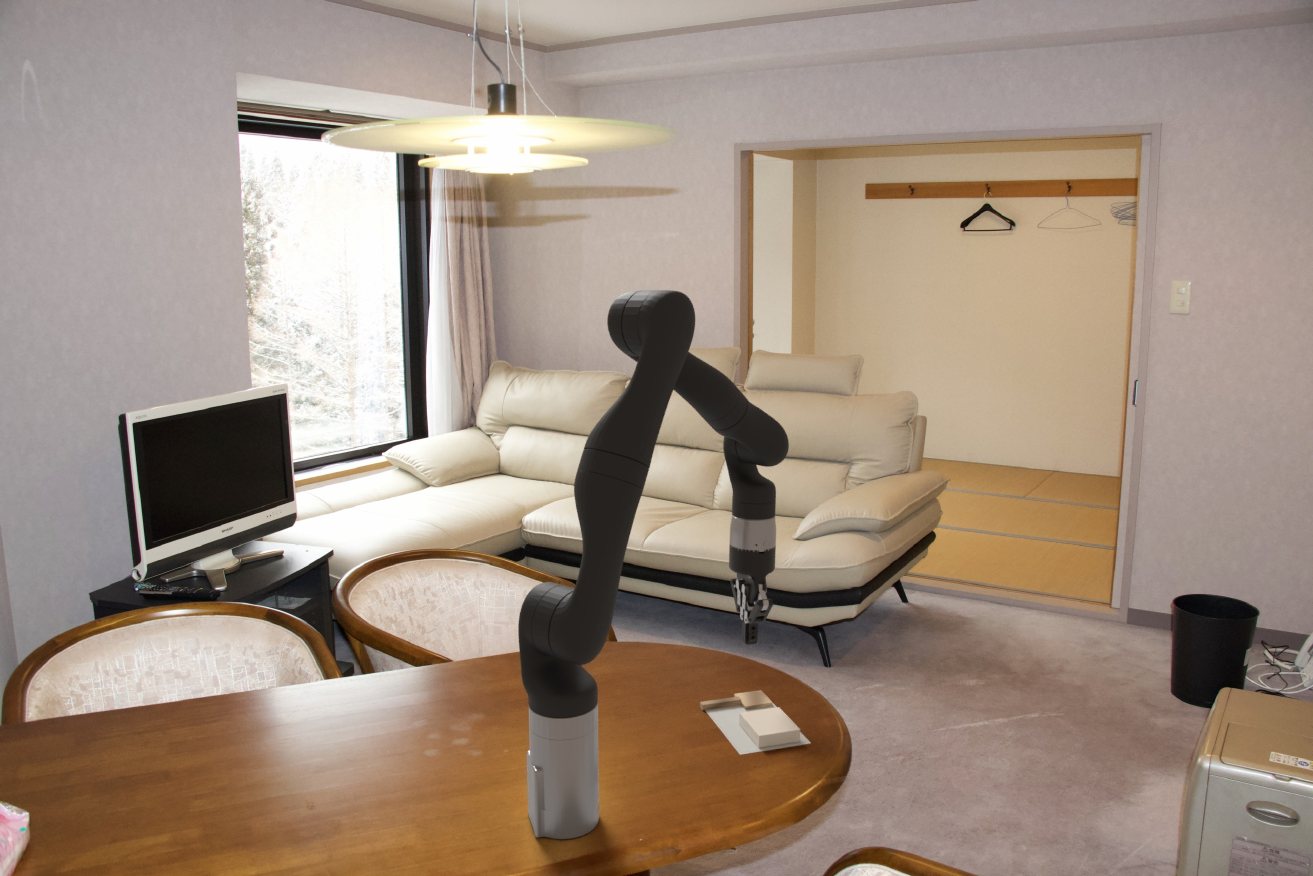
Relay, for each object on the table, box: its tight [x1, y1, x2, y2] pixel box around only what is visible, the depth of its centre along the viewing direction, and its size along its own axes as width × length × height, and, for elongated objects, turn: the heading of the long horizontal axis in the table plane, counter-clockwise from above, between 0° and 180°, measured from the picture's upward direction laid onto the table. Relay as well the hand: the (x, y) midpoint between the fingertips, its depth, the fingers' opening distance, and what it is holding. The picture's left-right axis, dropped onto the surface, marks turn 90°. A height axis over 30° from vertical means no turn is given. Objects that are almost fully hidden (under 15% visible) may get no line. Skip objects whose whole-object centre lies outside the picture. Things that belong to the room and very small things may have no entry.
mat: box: [704, 703, 811, 756], centre depth 158 cm, size 12×18×1 cm, turn 17°
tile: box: [739, 706, 801, 748], centre depth 154 cm, size 7×2×8 cm
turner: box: [699, 689, 774, 712], centre depth 164 cm, size 12×5×1 cm, turn 107°
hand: (749, 642), depth 160 cm, fingers closed
